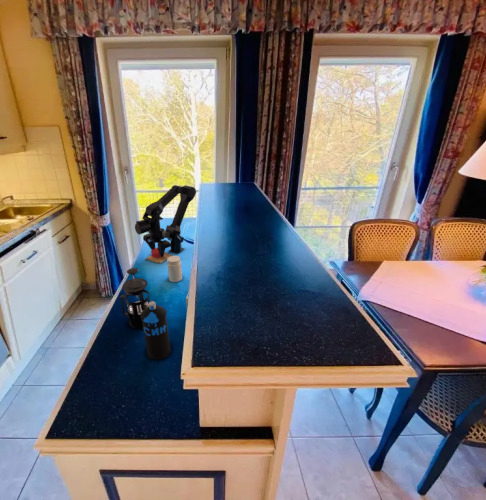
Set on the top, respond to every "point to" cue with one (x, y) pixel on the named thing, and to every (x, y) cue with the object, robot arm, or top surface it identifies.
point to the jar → (174, 268)
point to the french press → (135, 289)
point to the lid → (155, 253)
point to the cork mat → (159, 259)
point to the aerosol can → (156, 331)
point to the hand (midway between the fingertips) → (158, 254)
